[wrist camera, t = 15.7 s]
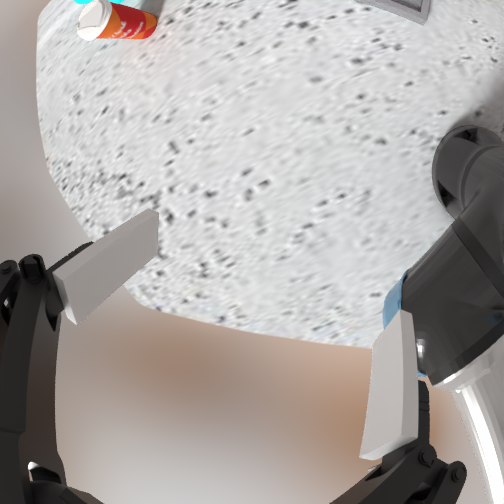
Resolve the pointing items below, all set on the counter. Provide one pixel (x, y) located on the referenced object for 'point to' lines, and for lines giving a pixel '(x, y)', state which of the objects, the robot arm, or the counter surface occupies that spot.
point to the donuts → (86, 0)
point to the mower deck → (403, 8)
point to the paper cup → (114, 21)
